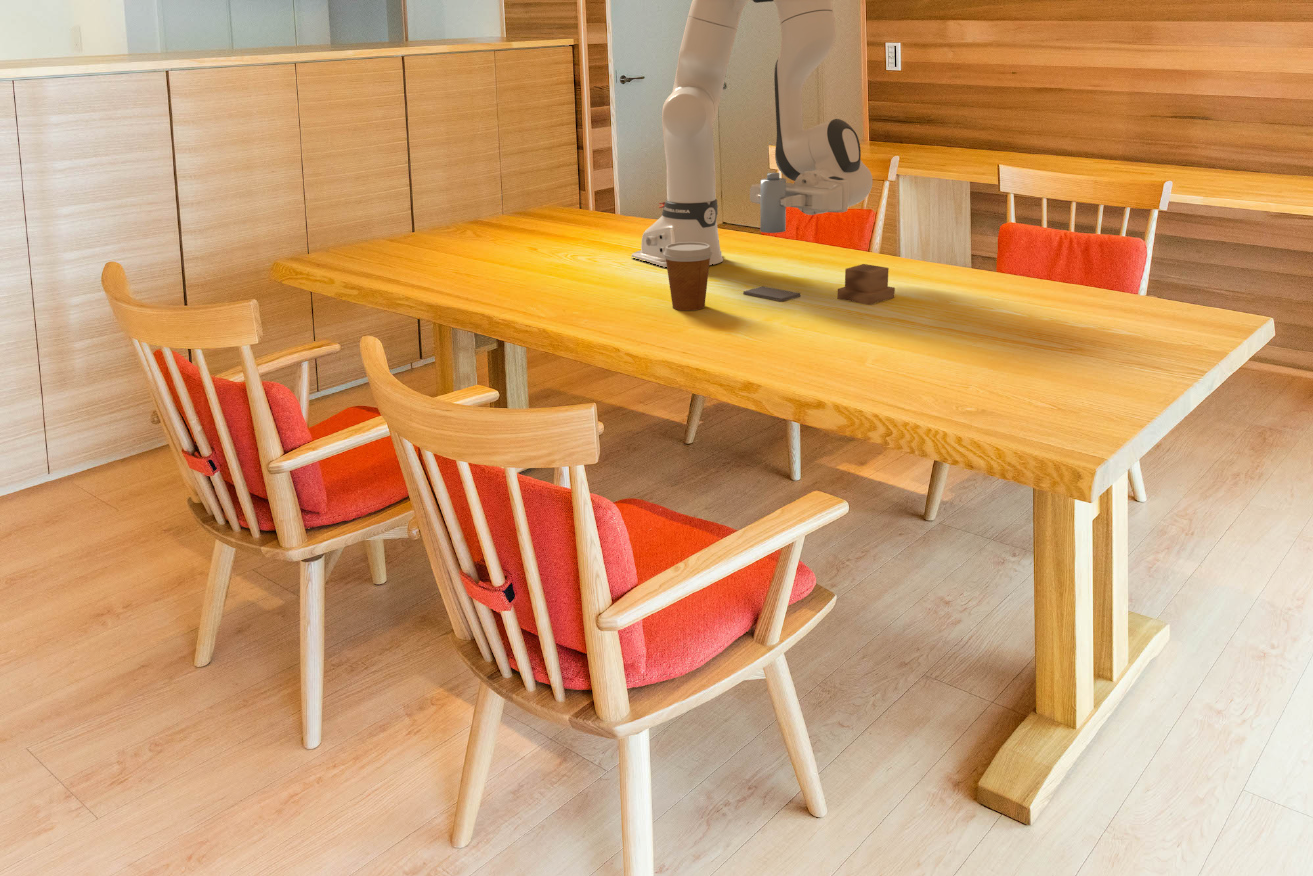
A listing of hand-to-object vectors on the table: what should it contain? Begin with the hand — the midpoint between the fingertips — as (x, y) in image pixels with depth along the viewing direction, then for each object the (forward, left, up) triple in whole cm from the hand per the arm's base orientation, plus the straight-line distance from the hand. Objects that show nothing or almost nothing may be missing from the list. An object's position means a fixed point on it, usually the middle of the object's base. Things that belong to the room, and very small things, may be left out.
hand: (770, 200), depth 224 cm
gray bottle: (0, +1, -6) cm, 6 cm away
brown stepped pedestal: (+16, +11, -19) cm, 27 cm away
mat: (0, +1, -19) cm, 19 cm away
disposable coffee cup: (-6, -17, -19) cm, 27 cm away
